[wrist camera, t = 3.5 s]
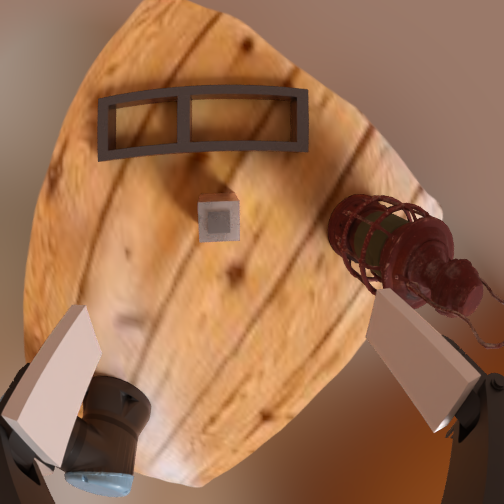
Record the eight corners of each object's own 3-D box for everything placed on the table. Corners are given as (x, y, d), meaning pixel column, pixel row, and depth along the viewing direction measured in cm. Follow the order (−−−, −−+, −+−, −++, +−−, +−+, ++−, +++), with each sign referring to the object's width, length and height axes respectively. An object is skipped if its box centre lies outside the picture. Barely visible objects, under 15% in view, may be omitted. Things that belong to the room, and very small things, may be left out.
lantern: (388, 185, 38) (560, 247, 10) (387, 256, 43) (521, 360, 15) (318, 193, 37) (506, 287, 9) (323, 271, 42) (447, 420, 14)
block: (201, 226, 37) (199, 243, 30) (200, 193, 35) (197, 202, 28) (234, 225, 37) (240, 241, 30) (234, 192, 36) (239, 201, 29)
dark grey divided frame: (106, 160, 32) (98, 161, 29) (106, 102, 29) (98, 98, 26) (301, 152, 35) (308, 152, 32) (301, 94, 32) (308, 89, 29)
